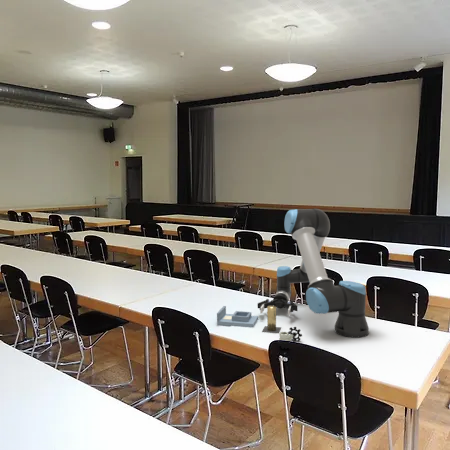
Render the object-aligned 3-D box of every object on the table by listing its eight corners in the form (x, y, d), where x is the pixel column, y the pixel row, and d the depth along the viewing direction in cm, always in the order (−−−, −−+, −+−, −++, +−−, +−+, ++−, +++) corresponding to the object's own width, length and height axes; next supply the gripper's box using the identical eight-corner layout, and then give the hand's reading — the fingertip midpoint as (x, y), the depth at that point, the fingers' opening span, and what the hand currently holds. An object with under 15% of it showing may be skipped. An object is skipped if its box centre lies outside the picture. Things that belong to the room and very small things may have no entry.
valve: (288, 351, 179) (302, 342, 189) (288, 336, 178) (302, 328, 188) (274, 348, 183) (288, 339, 193) (274, 332, 182) (288, 324, 192)
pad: (281, 328, 206) (281, 327, 206) (278, 334, 198) (278, 333, 198) (264, 326, 208) (264, 326, 208) (261, 332, 201) (261, 331, 200)
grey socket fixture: (258, 320, 218) (258, 308, 217) (253, 328, 207) (253, 316, 206) (223, 317, 223) (223, 306, 222) (217, 325, 211) (216, 313, 211)
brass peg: (276, 328, 205) (276, 305, 203) (275, 331, 201) (275, 308, 200) (268, 327, 206) (268, 305, 204) (266, 330, 202) (266, 307, 201)
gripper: (304, 308, 229) (300, 321, 209) (258, 304, 236) (249, 317, 216) (304, 294, 228) (300, 306, 208) (258, 291, 235) (249, 302, 215)
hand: (274, 311), depth 212 cm, fingers open, 13 cm apart
